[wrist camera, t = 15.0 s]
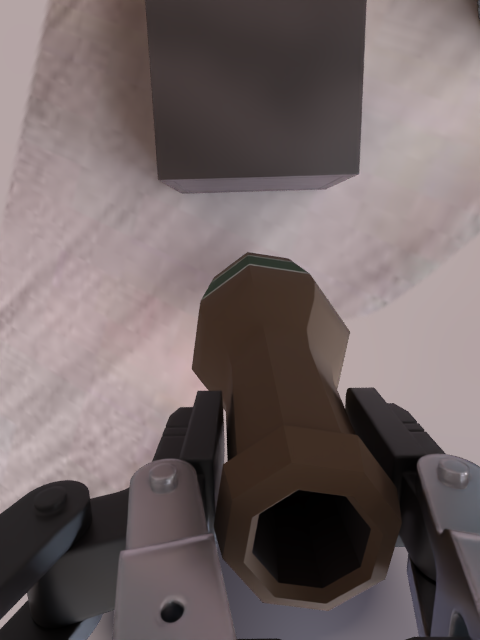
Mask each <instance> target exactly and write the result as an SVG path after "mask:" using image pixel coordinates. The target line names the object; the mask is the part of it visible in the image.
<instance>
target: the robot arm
mask: <svg viewBox="0 0 480 640" xmlns="http://www.w3.org/2000/svg"><path fill="white" fill-rule="evenodd" d="M345 410H346V412H347V415H348V417H349V420H350V422H351V425H352V427H353V429H354V432H355V434H356V435H358V436H359V438H360V439H361V440H362V442H363V443H364V444H365V446H366V447H367V448H368V450H369V451H370V453H371V454H372V455H373V457H374V458H375V459H376V461H377V462H378V463H379V465H380V466H381V467H382V469H383V470H384V471H385V473H386V474H387V475H388V477H389V478H390V479H391V481H392V482H393V484H394V485H395V486H396V488H397V492H398V499H399V506H400V513H401V519H402V524H401V528H400V531H399V534H398V538H397V541H396V544H395V547H406V549H407V551H408V563H407V575H408V580H409V586H410V591H411V596H412V601H413V607H414V612H415V617H416V622H417V627H418V633H419V637H412V638H409V639H406V640H480V467H479V466H478V465H476V464H474V463H472V462H470V461H468V460H466V459H463V458H460V457H457V456H453V455H447V454H445V453H444V451H443V450H442V449H441V448H440V447H439V446H438V445H437V444H436V442H435V441H434V440H433V439H432V438H431V437H430V436H429V435H428V434H427V432H424V429H423V428H422V427H421V426H420V424H418V423H417V421H416V420H415V419H414V418H413V417H412V416H411V414H410V413H409V412H408V411H406V410H404V409H403V408H401V407H399V406H397V405H396V404H394V403H392V404H391V403H390V404H389V403H386V402H385V400H384V399H383V398H382V397H381V395H380V394H379V393H378V392H377V391H376V389H375V388H348V389H347V393H346V405H345ZM223 420H224V419H223V396H222V391H198V392H197V395H196V399H195V403H194V406H193V407H180V408H179V409H178V410H176V411H175V412H174V413H173V414H172V415H170V417H169V419H168V422H167V424H166V428H165V430H164V432H163V437H161V440H160V443H159V445H158V448H157V450H156V453H155V456H154V458H153V461H152V462H151V463H148V464H146V465H144V466H143V467H141V468H140V469H138V470H137V471H136V472H135V473H134V475H133V476H132V478H131V480H130V487H129V488H127V489H125V490H123V491H120V492H116V493H113V494H109V495H105V496H100V497H96V498H92V499H90V496H89V490H88V488H87V487H86V486H85V485H84V484H82V483H80V482H78V481H70V480H65V481H57V482H53V483H49V484H46V485H43V486H41V487H39V488H36V489H35V490H33V491H31V492H29V493H28V494H26V495H25V496H24V497H22V498H21V499H20V500H18V501H17V502H16V503H14V504H13V505H12V506H10V507H9V508H8V509H6V510H5V511H4V512H2V513H1V514H0V619H1V618H2V617H3V616H4V615H5V614H6V613H7V612H8V611H9V610H10V609H11V608H12V607H13V606H14V605H15V604H16V603H17V602H18V601H19V600H20V599H21V598H22V597H23V596H24V595H25V594H26V593H27V596H28V601H27V602H26V603H25V604H24V605H23V606H22V607H21V608H20V609H19V610H18V611H17V612H16V613H15V614H14V616H13V617H12V618H11V619H10V620H9V621H8V622H7V623H6V624H5V625H4V626H3V627H2V628H1V629H0V640H87V639H88V637H89V636H90V635H91V633H92V632H93V630H94V629H95V628H96V626H97V625H98V623H99V621H100V619H101V617H102V615H103V614H104V613H107V612H110V611H113V610H115V612H114V624H113V636H112V640H280V639H237V638H236V634H235V630H234V625H233V620H232V616H231V611H230V607H229V602H228V597H227V593H226V588H225V584H224V579H223V575H222V571H221V566H220V561H219V557H218V552H217V541H218V540H217V537H216V533H215V530H214V526H213V525H214V519H215V512H216V506H217V500H218V493H219V487H220V480H221V474H222V468H223V464H224V422H223Z"/></svg>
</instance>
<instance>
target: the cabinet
mask: <svg viewBox="0 0 480 640" xmlns="http://www.w3.org/2000/svg"><path fill="white" fill-rule="evenodd" d="M366 2H367V0H145V3H146V16H147V30H148V44H149V58H150V72H151V86H152V99H153V113H154V127H155V141H156V155H157V169H158V180H160V181H161V182H163V183H165V184H167V185H168V186H170V187H172V188H174V189H175V190H177V191H179V192H181V193H213V192H248V191H283V190H319V189H327V188H330V187H332V186H334V185H336V184H338V183H340V182H343V181H345V180H347V179H349V178H351V177H353V176H356V175H358V174H359V163H360V140H361V117H362V94H363V71H364V48H365V25H366Z"/></svg>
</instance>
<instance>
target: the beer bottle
mask: <svg viewBox="0 0 480 640" xmlns="http://www.w3.org/2000/svg"><path fill="white" fill-rule="evenodd" d="M349 334H350V331H349V330H348V328H347V327H346V325H345V324H344V322H343V321H342V319H341V318H340V317H339V315H338V314H337V312H336V311H335V309H334V308H333V306H332V305H331V304H330V302H329V301H328V299H327V298H326V296H325V295H324V294H323V292H322V291H321V289H320V288H319V286H318V285H317V284H316V282H315V281H314V279H313V278H312V276H311V275H310V274H309V273H308V272H306V271H305V270H304V269H302V268H301V267H299V266H298V265H297V264H295V263H294V262H292V261H291V260H290V259H287V258H281V257H275V256H268V255H262V254H255V253H248V252H247V253H246V254H245V255H243V256H242V257H241V258H239V259H238V260H236V261H235V262H234V263H232V264H231V265H230V266H228V267H227V268H226V269H224V270H223V271H222V272H220V273H219V274H218V275H216V276H215V277H214V278H213V280H212V282H211V284H210V285H209V287H208V289H207V291H206V293H205V294H204V296H203V298H202V300H201V303H200V309H199V316H198V324H197V332H196V340H195V348H194V356H193V364H192V370H193V371H194V373H195V374H196V375H197V377H198V378H199V379H200V380H201V382H202V383H203V384H204V385H205V387H206V388H207V389H208V390H209V391H222V396H223V409H224V410H225V411H226V425H227V455H228V462H226V463H225V464H223V468H222V474H221V480H220V487H219V493H218V500H217V506H216V512H215V519H214V525H213V526H214V530H215V533H216V537H217V540H218V544H219V547H220V551H221V555H222V558H223V559H224V561H225V562H227V564H228V565H229V566H230V567H231V568H232V569H233V570H234V571H235V573H236V574H237V575H238V576H239V577H240V578H241V579H242V580H243V581H244V583H245V584H246V585H247V586H248V587H249V588H250V589H251V590H252V591H253V592H254V594H255V595H256V596H257V597H258V598H259V599H260V600H261V601H262V602H263V603H270V604H277V605H285V606H294V607H301V608H309V609H317V610H325V611H329V610H331V609H333V608H334V607H336V606H338V605H340V604H342V603H343V602H345V601H347V600H349V599H351V598H352V597H354V596H356V595H358V594H360V593H362V592H363V591H365V590H367V589H369V588H371V587H372V586H374V585H376V584H378V583H379V582H381V581H383V580H385V578H386V575H387V571H388V568H389V565H390V561H391V558H392V555H393V551H394V548H395V544H396V541H397V538H398V534H399V531H400V528H401V524H402V519H401V513H400V506H399V499H398V492H397V488H396V486H395V485H394V484H393V482H392V481H391V479H390V478H389V477H388V475H387V474H386V473H385V471H384V470H383V469H382V467H381V466H380V465H379V463H378V462H377V461H376V459H375V458H374V457H373V455H372V454H371V453H370V451H369V450H368V448H367V447H366V446H365V444H364V443H363V442H362V440H361V439H360V438H359V436H358V435H356V434H355V432H354V429H353V427H352V425H351V422H350V420H349V417H348V415H347V412H346V410H345V408H344V406H343V403H342V400H341V398H340V396H339V393H338V391H337V388H338V383H339V379H340V374H341V370H342V366H343V361H344V357H345V352H346V348H347V343H348V339H349Z"/></svg>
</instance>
